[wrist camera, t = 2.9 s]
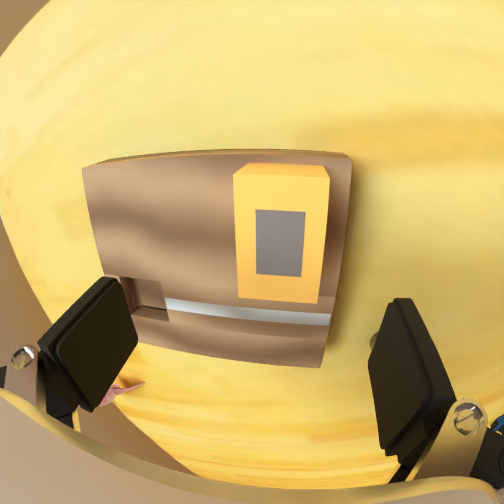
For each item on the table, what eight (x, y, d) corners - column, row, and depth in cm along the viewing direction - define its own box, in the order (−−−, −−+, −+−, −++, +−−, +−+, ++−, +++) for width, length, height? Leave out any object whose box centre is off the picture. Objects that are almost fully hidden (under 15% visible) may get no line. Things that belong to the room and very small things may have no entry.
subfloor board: (109, 159, 22) (81, 168, 18) (342, 153, 18) (352, 159, 15) (142, 316, 30) (126, 338, 26) (319, 338, 26) (320, 368, 23)
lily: (108, 381, 43) (111, 426, 36) (61, 356, 35) (58, 408, 28) (153, 364, 42) (160, 415, 35) (103, 335, 34) (103, 395, 27)
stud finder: (248, 162, 16) (232, 174, 12) (323, 165, 15) (329, 178, 12) (250, 264, 19) (238, 297, 16) (315, 268, 18) (317, 304, 15)
